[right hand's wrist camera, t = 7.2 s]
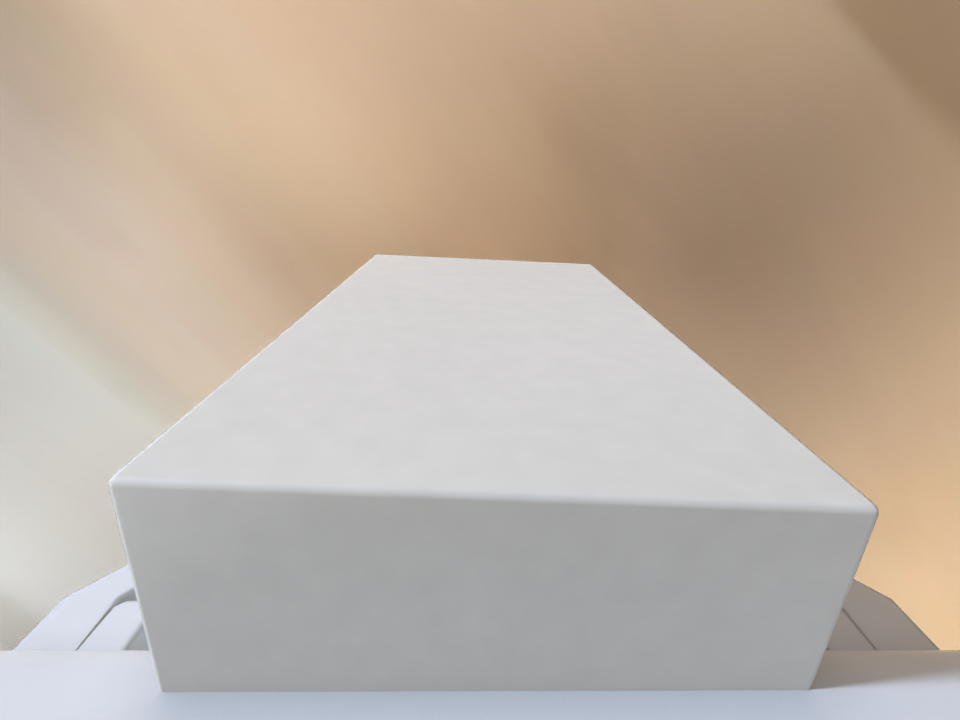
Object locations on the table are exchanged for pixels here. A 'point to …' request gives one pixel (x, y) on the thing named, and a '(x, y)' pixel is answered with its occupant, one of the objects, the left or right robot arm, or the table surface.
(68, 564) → the table surface
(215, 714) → the right robot arm
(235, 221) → the table surface
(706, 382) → the box
